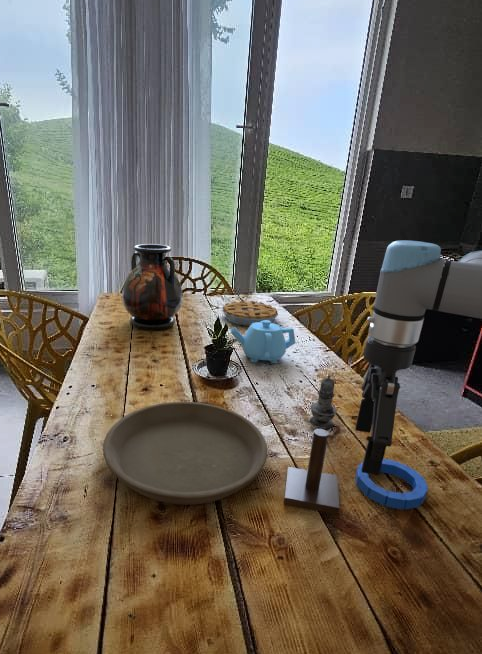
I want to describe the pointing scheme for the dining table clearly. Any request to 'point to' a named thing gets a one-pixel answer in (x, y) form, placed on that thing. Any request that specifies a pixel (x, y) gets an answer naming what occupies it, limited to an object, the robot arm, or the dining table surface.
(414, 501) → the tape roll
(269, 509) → the dining table surface
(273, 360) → the teapot
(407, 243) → the robot arm
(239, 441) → the plant saucer
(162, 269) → the amphora vase
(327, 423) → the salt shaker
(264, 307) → the pie
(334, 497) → the peg stand
